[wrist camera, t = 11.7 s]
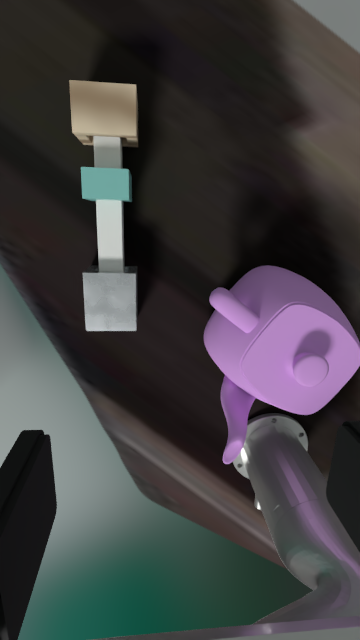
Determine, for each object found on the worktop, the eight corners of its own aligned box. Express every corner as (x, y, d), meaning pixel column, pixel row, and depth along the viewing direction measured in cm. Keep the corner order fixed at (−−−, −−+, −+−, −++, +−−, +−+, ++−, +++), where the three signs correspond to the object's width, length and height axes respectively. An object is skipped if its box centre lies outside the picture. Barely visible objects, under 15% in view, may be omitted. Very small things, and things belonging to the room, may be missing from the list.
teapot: (235, 225, 44) (277, 230, 30) (344, 314, 50) (424, 354, 35) (136, 357, 49) (132, 416, 34) (246, 426, 54) (282, 502, 40)
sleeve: (137, 316, 47) (136, 330, 41) (93, 316, 46) (86, 330, 41) (137, 266, 45) (135, 273, 39) (91, 265, 44) (82, 272, 38)
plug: (132, 274, 45) (130, 284, 38) (95, 273, 44) (86, 283, 38) (130, 115, 39) (127, 96, 33) (88, 113, 39) (76, 93, 32)
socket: (138, 147, 41) (136, 135, 35) (83, 144, 40) (72, 132, 34) (137, 104, 39) (136, 84, 33) (81, 100, 39) (69, 80, 33)
